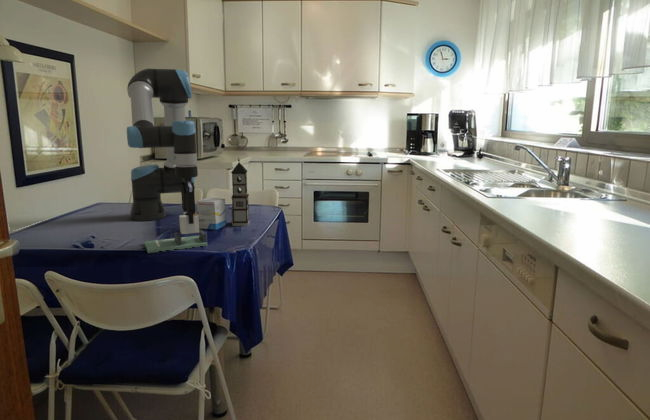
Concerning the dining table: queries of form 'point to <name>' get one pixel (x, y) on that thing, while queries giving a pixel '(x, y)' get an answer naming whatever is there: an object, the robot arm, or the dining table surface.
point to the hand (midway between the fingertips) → (189, 230)
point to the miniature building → (240, 197)
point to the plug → (184, 224)
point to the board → (176, 242)
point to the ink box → (211, 213)
